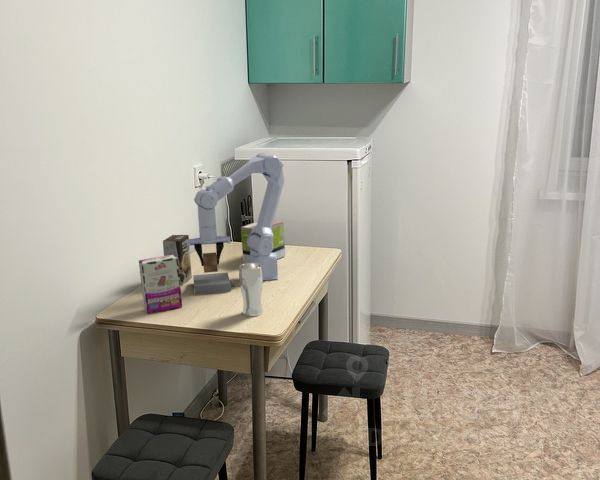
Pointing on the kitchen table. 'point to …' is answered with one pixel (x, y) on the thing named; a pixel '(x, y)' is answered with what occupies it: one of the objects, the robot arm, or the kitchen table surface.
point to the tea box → (277, 240)
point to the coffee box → (179, 255)
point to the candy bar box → (160, 283)
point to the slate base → (211, 283)
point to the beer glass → (251, 288)
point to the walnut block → (210, 262)
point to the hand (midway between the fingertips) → (210, 264)
